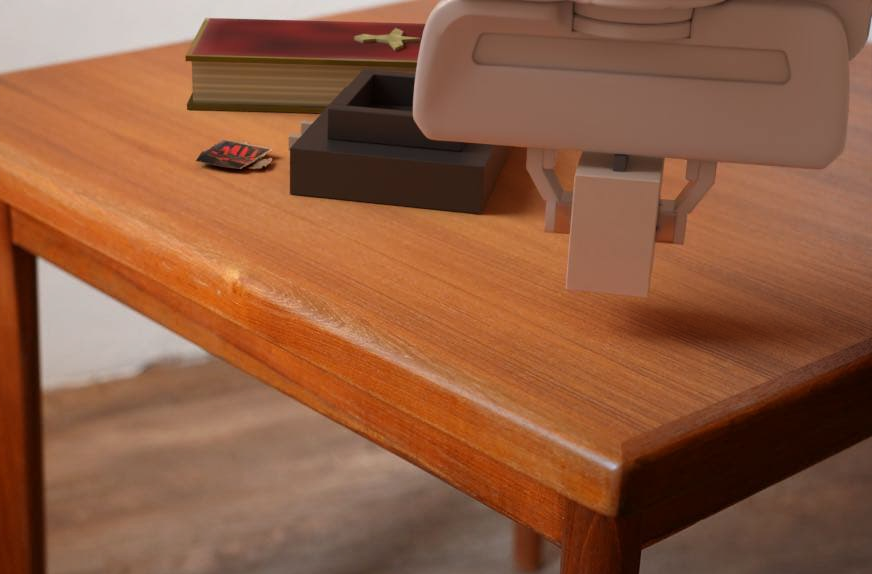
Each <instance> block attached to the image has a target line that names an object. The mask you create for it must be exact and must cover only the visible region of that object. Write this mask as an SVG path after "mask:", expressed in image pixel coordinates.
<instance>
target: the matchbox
mask: <svg viewBox="0 0 872 574" xmlns="http://www.w3.org/2000/svg"><path fill="white" fill-rule="evenodd" d="M272 150H274V148H270V147H265V146H262V145H259V144H252V143H249V142H248V141H245V142H242V141H234V140H227V139H221V140H220V141H219V142H218V143H214V145H213V146H211V147H210V148H208V149H206V150H202V151H201V152H200V154H199V155H198V157H197V158H196V160H195V162H197V163H202V164H208V165H212V166H217V167H220V168H221V167H222V168H226V169H229V168H230V169H238V170H239V169H240V170H241V169H243V168H244V167H247V166H248V169H249V170H250V169H251V170H256V169H258V170H259V169H263V167H265V168H267V167H268V166H269V165H270V164H271V163H272V161H273V158H272V157H268V158H265V157H266V156H268V155H269V154H270V152H271V151H272ZM267 153H269V154H267ZM266 154H267V155H266ZM252 163H253V164H252ZM250 165H252V166H250ZM206 168H207V169H209V167H208V166H207V167H206ZM212 169H214V168H213V167H211V170H212Z"/></svg>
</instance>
